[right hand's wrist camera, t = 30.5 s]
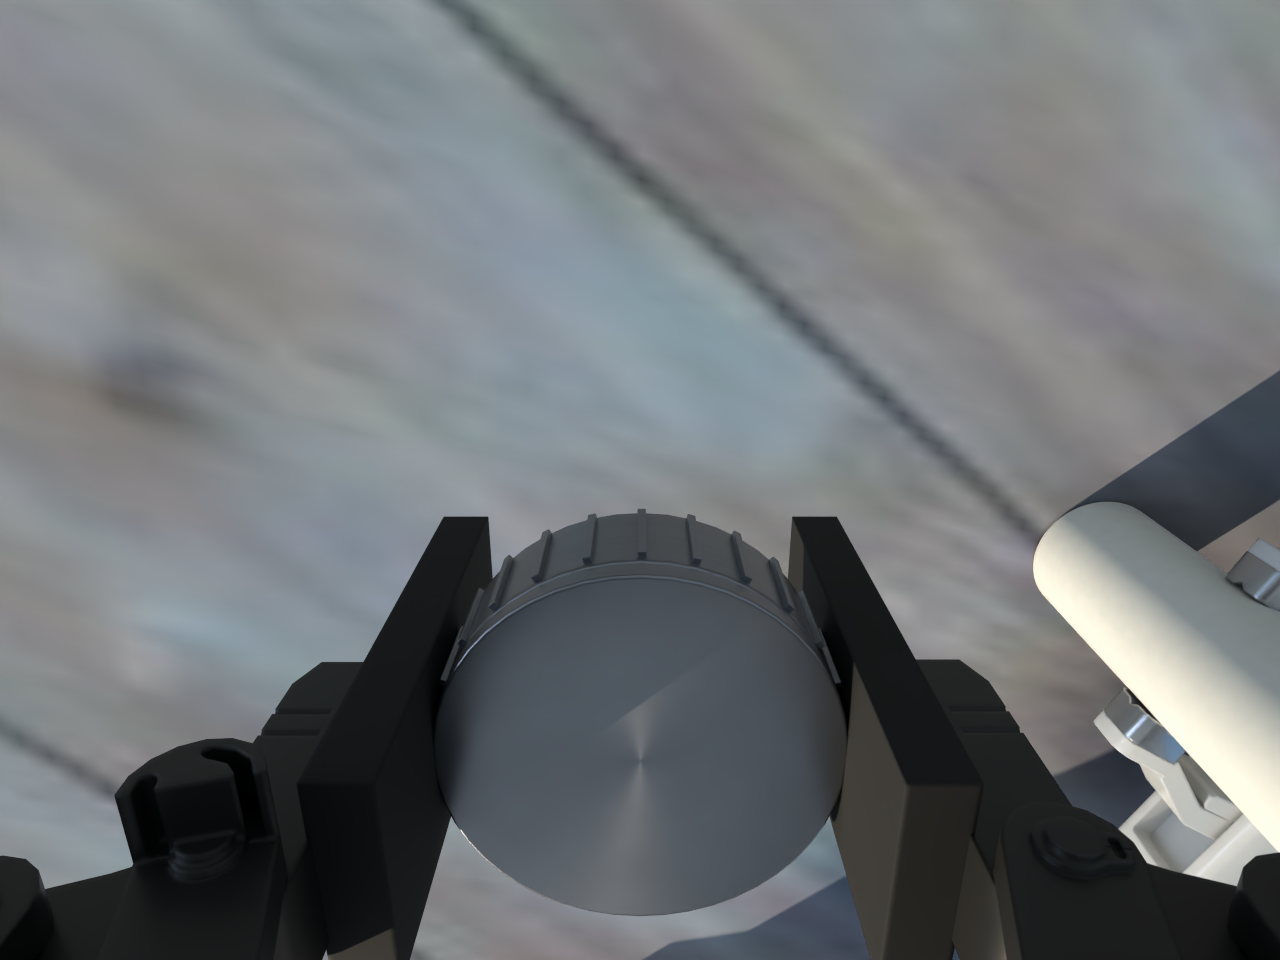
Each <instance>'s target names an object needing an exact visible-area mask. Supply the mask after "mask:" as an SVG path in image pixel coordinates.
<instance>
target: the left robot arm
mask: <svg viewBox="0 0 1280 960" xmlns="http://www.w3.org/2000/svg"><path fill="white" fill-rule="evenodd" d="M1225 577H1226V578H1228V579H1229V580H1230V581H1231V582H1233V583H1234V584H1236V585H1238V586H1240V587H1241V588H1243V590H1244V591H1245V592H1247V593H1248V594H1250V595H1251V596H1252V597H1254V598H1255V599H1257V600H1258V601H1260V602H1262V603H1263V604H1265V605H1266V606H1268V607H1270V608H1272V609H1274V610H1277V611H1280V549H1279V548H1277V547H1275V546H1273V545H1272V544H1270V543H1268V542H1267V541H1265V540H1263V539H1261V538H1258V539H1257V540H1256V542H1255V543H1254V544H1253V545H1252V546H1251V547H1250V549H1249V550H1248V551H1247V552H1246V553H1245V554H1244V555H1243V556H1242V557H1241V559H1240V560H1239V561H1238V562H1237V563H1236V564H1235V566H1234V567H1233V568H1232V569H1231V570H1230V571H1229V573H1228V574H1227V575H1226V576H1225ZM1094 723H1095V725H1096V726H1097V727H1098V728H1099V730H1100V731H1101V732H1102V733H1103V735H1104V736H1105V737H1106V738H1107V740H1108V741H1109V742H1110V743H1111V745H1112V746H1114V747H1115V748H1116V749H1117V750H1118V751H1119V752H1120V753H1122V754H1123V755H1125V756H1126V757H1127V758H1129V759H1131V760H1133V761H1135V762H1137V763H1139V764H1140V766H1141V768H1142V771H1143V773H1144V775H1145V777H1146V779H1147V780H1148V781H1149V783H1150V784H1151V785H1152V786H1153V787H1154V789H1155V791H1154V792H1153V793H1152V794H1151V795H1150V797H1149V798H1148V799H1147V800H1146V801H1145V802H1144V803H1143V804H1142V805H1141V806H1140V807H1139V808H1138V809H1137V810H1136V811H1135V812H1134V813H1133V814H1132V815H1131V816H1130V817H1129V818H1128V819H1127V820H1126V821H1125V822H1124V823H1123V824H1122V825H1121V826H1120V827H1119V828H1118V829H1119V830H1120V831H1121V832H1122V833H1123V834H1125V835H1126V836H1127V837H1128V838H1129V839H1130V840H1132V841H1133V842H1134V843H1135V845H1136V847H1137V848H1138V850H1139V851H1140V853H1141V854H1142V856H1143V858H1144V859H1145V861H1146V862H1147V863H1149V864H1152V865H1155V866H1158V867H1162V868H1165V869H1168V870H1171V871H1175V872H1180V873H1184V874H1188V875H1192V876H1197V877H1201V878H1205V879H1209V880H1213V881H1218V882H1222V883H1226V884H1230V885H1234V886H1237V884H1238V881H1239V878H1240V875H1241V872H1242V869H1243V867H1244V866H1245V865H1246V864H1247V863H1248V862H1249V861H1251V860H1252V859H1253V858H1254V857H1255V856H1258V855H1265V854H1271V853H1278V851H1277V850H1276V849H1275V848H1274V847H1273V846H1272V844H1271V843H1270V842H1269V841H1268V840H1267V839H1266V838H1265V837H1264V836H1263V835H1262V834H1261V832H1260V831H1259V830H1258V829H1257V828H1256V827H1255V826H1254V825H1253V824H1252V823H1251V821H1250V820H1249V819H1248V818H1247V817H1246V816H1245V815H1244V814H1243V813H1242V812H1241V811H1240V809H1239V808H1238V807H1237V806H1236V805H1235V804H1234V803H1233V802H1232V801H1231V800H1230V799H1229V797H1228V796H1227V795H1226V794H1225V793H1224V792H1223V791H1222V790H1221V789H1220V788H1219V787H1218V785H1217V784H1216V783H1215V782H1214V781H1213V780H1212V779H1211V778H1210V777H1209V776H1208V774H1207V773H1206V772H1205V771H1204V770H1203V769H1202V768H1201V767H1200V766H1199V765H1198V764H1197V762H1196V761H1195V760H1194V759H1193V758H1192V757H1191V756H1190V755H1189V756H1187V755H1185V754H1184V753H1185V752H1186V750H1185V749H1184V748H1183V747H1182V746H1181V745H1180V744H1179V743H1178V742H1177V741H1176V740H1175V738H1174V737H1173V736H1172V735H1171V734H1170V733H1169V732H1168V731H1167V730H1166V729H1165V728H1164V726H1163V725H1162V724H1161V723H1160V722H1159V721H1158V720H1157V719H1156V718H1155V717H1154V715H1153V714H1152V713H1151V712H1150V711H1149V710H1148V709H1147V708H1146V707H1145V706H1144V705H1143V703H1142V702H1141V701H1140V700H1139V699H1138V698H1137V697H1136V696H1135V695H1134V694H1133V693H1132V691H1131V690H1130V689H1128V688H1123V689H1122V690H1121V691H1120V692H1119V693H1118V695H1117V696H1116V697H1115V698H1114V699H1113V700H1112V701H1111V702H1110V703H1109V704H1108V705H1107V706H1106V707H1105V709H1104V710H1103V711H1102V712H1101V713H1100V714H1099V715H1098V716H1097V717H1096V718H1095V720H1094Z"/></svg>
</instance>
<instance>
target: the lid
mask: <svg viewBox="0 0 1280 960" xmlns="http://www.w3.org/2000/svg"><path fill="white" fill-rule="evenodd" d="M439 686H442V687H444V688H443V691H442V694H441V697H440V700H439V703H438V707H437V710H436V713H435V720H434V727H433V747H434V758H435V767H436V775H437V783H438V786H439V789H440V791H441V794H442V797H443V800H444V803H445V805H446V807H447V809H448V811H449V812H450V814H451V816H452V818H453V820H454V822H455V824H456V825H457V826H458V828H459V829H460V831H461V832H462V833H463V835H464V836H465V838H466V839H467V840H468V841H469V843H470V844H471V845H472V846H473V847H474V848H475V849H476V850H477V851H478V852H479V853H480V854H481V855H482V856H483V858H485V859H486V860H487V861H488V862H489V863H491V864H492V865H493V866H494V867H496V868H497V869H498V870H499V871H500V872H502V873H503V874H505V875H506V876H508V877H509V878H511V879H512V880H514V881H515V882H517V883H518V884H520V885H522V886H524V887H526V888H528V889H530V890H532V891H534V892H536V893H538V894H540V895H542V896H544V897H547V898H549V899H552V900H555V901H557V902H560V903H563V904H565V905H569V906H573V907H577V908H581V909H584V910H588V911H594V912H600V913H607V914H613V915H631V916H649V915H666V914H673V913H680V912H687V911H692V910H696V909H700V908H704V907H708V906H712V905H715V904H718V903H720V902H723V901H726V900H729V899H732V898H734V897H737V896H739V895H741V894H743V893H745V892H747V891H749V890H751V889H753V888H755V887H757V886H759V885H760V884H762V883H764V882H765V881H767V880H768V879H770V878H771V877H773V876H775V875H776V874H778V873H779V872H780V871H781V870H783V869H784V868H785V867H786V866H788V865H789V864H790V863H791V862H792V861H794V860H795V859H796V858H797V857H798V856H799V855H800V854H801V853H802V852H803V851H804V850H805V849H806V848H807V847H808V845H809V844H810V843H811V842H812V841H813V840H814V838H815V837H816V836H817V834H818V833H819V831H820V830H821V829H822V827H823V826H824V825H825V823H826V821H827V819H828V817H829V815H830V814H831V812H832V810H833V808H834V806H835V804H836V801H837V799H838V796H839V793H840V790H841V788H842V785H843V780H844V772H845V763H846V753H847V743H848V730H847V722H846V715H845V712H844V708H843V705H842V701H841V698H840V694H839V692H838V689H841V688H843V686H842V683H841V680H840V677H839V675H838V672H837V669H836V667H835V664H834V662H833V659H832V656H831V654H830V651H829V649H828V646H827V644H826V641H825V638H824V636H823V633H822V631H821V628H818V625H817V623H816V620H815V617H814V615H813V612H812V610H811V607H810V604H809V602H808V599H807V597H806V594H805V593H804V591H803V590H801V591H800V592H798V593H797V591H796V590H795V588H794V587H793V585H792V584H791V582H790V581H789V580H788V579H787V578H786V577H785V575H784V574H783V573H782V570H781V567H780V565H779V562H778V560H777V559H776V558H774V557H772V558H771V559H770V560H769V559H767V558H766V557H765V556H764V555H763V554H761V553H760V552H759V551H758V550H756V549H755V548H753V547H752V546H750V545H748V544H747V543H745V542H744V541H742V537H741V534H740V533H738V532H736V531H734V532H733V533H732V535H731V534H729V533H727V532H725V531H722V530H720V529H718V528H716V527H713V526H710V525H707V524H704V523H701V522H698V521H696V518H695V516H694V515H689V514H688V515H687V518H681V517H675V516H670V515H662V514H647V513H646V509H638V513H635V514H617V515H611V516H605V517H600V518H597V516H596V514H591V515H588V520H586V521H583V522H580V523H577V524H573V525H570V526H567V527H565V528H563V529H560V530H558V531H556V532H554V533H551V532H550V530H546V531H545V532H543V533H542V536H541V539H540V540H539V541H537V542H535V543H534V544H532V545H530V546H529V547H527V548H526V549H524V550H523V551H522V552H521V553H519V554H518V555H517V556H516V557H514V558H512V557H511V556H510V555H508V556H507V557H506V558H505V559H504V561H503V564H502V567H501V570H500V572H499V573H498V574H497V575H496V576H495V577H494V578H493V579H492V580H491V582H490V583H489V585H488V586H487V588H486V589H485V591H484V590H483V589H481V588H479V589H478V591H477V592H476V594H475V597H474V599H473V602H472V605H471V607H470V610H469V613H468V615H467V618H466V620H465V623H464V626H460V629H459V632H458V634H457V637H456V639H455V642H454V645H453V647H452V650H451V652H450V655H449V657H448V660H447V663H446V665H445V668H444V670H443V673H442V676H441V678H440V681H439Z"/></svg>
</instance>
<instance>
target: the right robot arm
mask: <svg viewBox="0 0 1280 960" xmlns="http://www.w3.org/2000/svg"><path fill="white" fill-rule="evenodd" d="M492 579H493V578H492V564H491V550H490V535H489V521H488V517H443V519H442V521H441V523H440V525H439V526H438V528H437V530H436V532H435V534H434V536H433V537H432V539H431V541H430V543H429V545H428V546H427V548H426V550H425V552H424V554H423V555H422V557H421V559H420V561H419V563H418V564H417V566H416V568H415V570H414V572H413V574H412V575H411V577H410V579H409V581H408V583H407V584H406V586H405V588H404V590H403V592H402V593H401V595H400V597H399V599H398V601H397V602H396V604H395V606H394V608H393V610H392V612H391V613H390V615H389V617H388V619H387V621H386V622H385V624H384V626H383V628H382V630H381V631H380V633H379V635H378V637H377V639H376V640H375V642H374V644H373V646H372V648H371V650H370V651H369V653H368V655H367V657H366V659H365V660H364V662H321V663H320V664H319V665H317V666H316V667H315V668H313V669H312V670H311V671H309V672H308V673H306V674H305V675H304V676H302V677H301V678H300V679H298V680H297V681H296V682H294V683H293V684H292V685H291V687H290V688H289V690H288V691H287V693H286V694H285V696H284V697H283V699H282V700H281V702H280V703H279V705H278V706H277V708H276V712H275V714H272V715H271V717H270V718H269V720H268V721H267V723H266V724H265V726H264V727H263V729H262V734H261V736H257V738H256V739H255V741H254V742H253V743H249V742H245V741H241V740H237V739H234V738H224V739H205V740H202V741H198V742H194V743H190V744H186V745H182V746H178V747H176V748H174V749H172V750H170V751H168V752H165V753H163V754H161V755H159V756H157V757H155V758H153V759H151V760H149V761H148V762H147V763H145V764H144V765H143V766H141V767H140V768H139V769H137V770H136V771H135V772H133V773H132V774H131V775H129V776H128V777H127V779H126V780H125V782H124V783H123V784H122V786H121V787H120V788H119V790H118V791H117V792H116V794H115V795H114V796H115V799H116V803H117V806H118V810H119V814H120V817H121V821H122V824H123V828H124V831H125V835H126V839H127V842H128V846H129V849H130V853H131V857H132V860H133V866H132V867H130V868H127V869H124V870H121V871H117V872H114V873H111V874H107V875H103V876H98V877H94V878H90V879H86V880H82V881H78V882H73V883H69V884H65V885H61V886H57V887H52V888H48V889H45V888H44V885H43V882H42V879H41V876H40V873H39V870H38V869H36V868H35V867H34V866H33V865H32V864H31V863H30V862H28V861H27V860H26V859H21V858H15V857H8V856H0V960H322V959H323V956H324V954H325V951H326V950H327V955H328V960H410V957H411V953H412V950H413V946H414V943H415V939H416V936H417V932H418V929H419V925H420V922H421V919H422V915H423V912H424V908H425V905H426V901H427V898H428V894H429V891H430V887H431V884H432V880H433V877H434V873H435V870H436V867H437V863H438V860H439V856H440V853H441V849H442V846H443V842H444V839H445V835H446V832H447V828H448V825H449V822H450V818H451V814H450V812H449V811H448V809H447V807H446V805H445V803H444V800H443V797H442V794H441V791H440V789H439V786H438V783H437V775H436V767H435V758H434V747H433V727H434V720H435V713H436V710H437V707H438V703H439V700H440V697H441V694H442V691H443V688H444V687H442V686H439V681H440V678H441V676H442V673H443V670H444V668H445V665H446V663H447V660H448V657H449V655H450V652H451V650H452V647H453V645H454V642H455V639H456V637H457V634H458V632H459V629H460V626H464V623H465V620H466V618H467V615H468V613H469V610H470V607H471V605H472V602H473V599H474V597H475V594H476V592H477V591H478V589H479V588H481V589H483V590H484V591H485V589H486V588H487V586H488V585H489V583H490V582H491V580H492ZM788 580H789V581H790V582H791V584H792V585H793V587H794V588H795V590H796V591H797V593H798V592H800V591H801V590H803V591H804V593H805V594H806V597H807V599H808V602H809V604H810V607H811V610H812V612H813V615H814V617H815V620H816V623H817V625H818V628H821V631H822V633H823V636H824V638H825V641H826V644H827V646H828V649H829V651H830V654H831V656H832V659H833V662H834V664H835V667H836V669H837V672H838V675H839V677H840V680H841V683H842V686H843V688H841V689H838V692H839V694H840V698H841V701H842V705H843V708H844V712H845V715H846V722H847V730H848V743H847V753H846V763H845V772H844V780H843V785H842V788H841V790H840V793H839V796H838V799H837V801H836V804H835V806H834V808H833V810H832V812H831V814H830V815H829V816H830V820H831V823H832V827H833V830H834V834H835V837H836V841H837V844H838V847H839V851H840V854H841V858H842V861H843V865H844V868H845V872H846V875H847V879H848V882H849V886H850V889H851V893H852V896H853V899H854V903H855V906H856V910H857V913H858V917H859V920H860V924H861V927H862V931H863V934H864V938H865V941H866V944H867V948H868V951H869V955H870V958H871V960H952V958H953V953H954V947H955V948H956V951H957V953H958V956H959V958H960V960H1280V852H1278V853H1271V854H1265V855H1258V856H1255V857H1254V858H1253V859H1252V860H1251V861H1249V862H1248V863H1247V864H1246V865H1245V866H1244V867H1243V869H1242V872H1241V875H1240V878H1239V881H1238V884H1237V886H1234V885H1230V884H1226V883H1222V882H1218V881H1213V880H1209V879H1205V878H1201V877H1197V876H1192V875H1188V874H1184V873H1180V872H1175V871H1171V870H1168V869H1165V868H1162V867H1158V866H1155V865H1152V864H1149V863H1147V862H1146V861H1145V859H1144V858H1143V856H1142V854H1141V853H1140V851H1139V850H1138V848H1137V847H1136V845H1135V843H1134V842H1133V841H1132V840H1130V839H1129V838H1128V837H1127V836H1126V835H1125V834H1123V833H1122V832H1121V831H1120V830H1119V829H1118V828H1116V827H1115V826H1114V825H1113V824H1111V823H1109V822H1107V821H1105V820H1104V819H1102V818H1100V817H1098V816H1096V815H1094V814H1092V813H1090V812H1088V811H1086V810H1083V809H1079V808H1076V807H1073V806H1072V805H1071V804H1070V802H1069V801H1068V799H1067V798H1066V796H1065V795H1064V793H1063V792H1062V790H1061V789H1060V787H1059V786H1058V784H1057V783H1056V781H1055V780H1054V778H1053V777H1052V775H1051V774H1050V772H1049V771H1048V769H1047V768H1046V766H1045V765H1044V763H1043V762H1042V760H1041V759H1040V757H1039V756H1038V754H1037V753H1036V751H1035V750H1034V748H1033V747H1032V745H1031V744H1030V742H1029V741H1028V739H1027V738H1026V736H1025V735H1024V733H1020V730H1019V726H1018V724H1017V723H1016V721H1015V720H1014V718H1013V717H1012V715H1011V714H1010V712H1009V711H1006V709H1005V705H1004V704H1003V702H1002V701H1001V699H1000V698H999V696H998V695H997V693H996V692H995V690H994V689H993V687H992V686H991V684H990V683H989V681H988V680H986V679H985V678H983V677H982V676H981V675H979V674H978V673H977V672H975V671H974V670H973V669H971V668H970V667H969V666H967V665H966V664H964V663H963V662H962V661H960V660H916V659H915V658H914V656H913V654H912V652H911V650H910V649H909V647H908V645H907V643H906V641H905V639H904V638H903V636H902V634H901V632H900V630H899V629H898V627H897V625H896V623H895V621H894V620H893V618H892V616H891V614H890V612H889V611H888V609H887V607H886V605H885V603H884V601H883V600H882V598H881V596H880V594H879V592H878V591H877V589H876V587H875V585H874V583H873V582H872V580H871V578H870V576H869V574H868V573H867V571H866V569H865V567H864V565H863V563H862V562H861V560H860V558H859V556H858V554H857V553H856V551H855V549H854V547H853V545H852V544H851V542H850V540H849V538H848V536H847V535H846V533H845V531H844V529H843V527H842V525H841V524H840V522H839V520H838V518H837V517H792V529H791V543H790V557H789V571H788Z"/></svg>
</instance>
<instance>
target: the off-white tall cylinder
mask: <svg viewBox="0 0 1280 960" xmlns="http://www.w3.org/2000/svg"><path fill="white" fill-rule="evenodd" d="M1033 571H1034V578H1035V581H1036V584H1037V586H1038V588H1039V590H1040V591H1041V593H1042V594H1043V595H1044V596H1045V597H1046V599H1047V600H1048V601H1049V602H1050V603H1051V604H1052V605H1053V606H1054V607H1055V608H1056V609H1057V611H1058V612H1059V613H1060V614H1061V615H1062V616H1063V617H1064V618H1065V619H1066V620H1067V621H1068V623H1069V624H1070V625H1071V626H1072V627H1073V628H1074V629H1075V630H1076V631H1077V632H1078V634H1079V635H1080V636H1081V637H1082V638H1083V639H1084V640H1085V641H1086V642H1087V643H1088V644H1089V646H1090V647H1091V648H1092V649H1093V650H1094V651H1095V652H1096V653H1097V654H1098V655H1099V656H1100V658H1101V659H1102V660H1103V661H1104V662H1105V663H1106V664H1107V665H1108V666H1109V667H1110V668H1111V670H1112V671H1113V672H1114V673H1115V674H1116V675H1117V676H1118V677H1119V678H1120V679H1121V681H1122V682H1123V683H1124V684H1125V685H1126V686H1127V687H1128V688H1129V689H1130V690H1131V691H1132V693H1133V694H1134V695H1135V696H1136V697H1137V698H1138V699H1139V700H1140V701H1141V702H1142V703H1143V705H1144V706H1145V707H1146V708H1147V709H1148V710H1149V711H1150V712H1151V713H1152V714H1153V715H1154V717H1155V718H1156V719H1157V720H1158V721H1159V722H1160V723H1161V724H1162V725H1163V726H1164V728H1165V729H1166V730H1167V731H1168V732H1169V733H1170V734H1171V735H1172V736H1173V737H1174V738H1175V740H1176V741H1177V742H1178V743H1179V744H1180V745H1181V746H1182V747H1183V748H1184V749H1185V750H1186V752H1187V753H1188V754H1189V755H1190V756H1191V757H1192V758H1193V759H1194V760H1195V761H1196V762H1197V764H1198V765H1199V766H1200V767H1201V768H1202V769H1203V770H1204V771H1205V772H1206V773H1207V774H1208V776H1209V777H1210V778H1211V779H1212V780H1213V781H1214V782H1215V783H1216V784H1217V785H1218V787H1219V788H1220V789H1221V790H1222V791H1223V792H1224V793H1225V794H1226V795H1227V796H1228V797H1229V799H1230V800H1231V801H1232V802H1233V803H1234V804H1235V805H1236V806H1237V807H1238V808H1239V809H1240V811H1241V812H1242V813H1243V814H1244V815H1245V816H1246V817H1247V818H1248V819H1249V820H1250V821H1251V823H1252V824H1253V825H1254V826H1255V827H1256V828H1257V829H1258V830H1259V831H1260V832H1261V834H1262V835H1263V836H1264V837H1265V838H1266V839H1267V840H1268V841H1269V842H1270V843H1271V844H1272V846H1273V847H1274V848H1275V849H1276V850H1277V851H1278V852H1280V611H1277V610H1274V609H1272V608H1270V607H1268V606H1266V605H1265V604H1263V603H1262V602H1260V601H1258V600H1257V599H1255V598H1254V597H1252V596H1251V595H1250V594H1248V593H1247V592H1245V591H1244V590H1243V588H1241V587H1240V586H1238V585H1236V584H1234V583H1233V582H1231V581H1230V580H1229V579H1228V578H1226V577H1225V576H1226V575H1227V574H1228V573H1226V572H1225V571H1224V570H1222V569H1221V568H1219V567H1218V566H1217V565H1215V564H1214V563H1212V562H1211V561H1210V560H1208V559H1207V558H1205V557H1204V556H1203V555H1201V554H1200V553H1198V552H1197V551H1196V550H1194V549H1193V548H1191V547H1190V546H1189V545H1187V544H1186V543H1184V542H1183V541H1182V540H1180V539H1179V538H1177V537H1176V536H1175V535H1173V534H1172V533H1170V532H1169V531H1168V530H1166V529H1165V528H1163V527H1162V526H1161V525H1159V524H1158V523H1156V522H1155V521H1154V520H1152V519H1151V518H1149V517H1148V516H1147V515H1145V514H1144V513H1142V512H1141V511H1139V510H1138V509H1136V508H1134V507H1132V506H1130V505H1127V504H1123V503H1119V502H1096V503H1091V504H1087V505H1084V506H1081V507H1078V508H1076V509H1074V510H1072V511H1070V512H1068V513H1067V514H1065V515H1064V516H1062V517H1061V518H1060V519H1058V520H1057V521H1056V522H1055V523H1054V524H1053V525H1052V526H1051V527H1050V528H1049V529H1048V530H1047V531H1046V533H1045V534H1044V536H1043V537H1042V539H1041V540H1040V542H1039V544H1038V547H1037V549H1036V552H1035V556H1034V562H1033Z"/></svg>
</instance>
